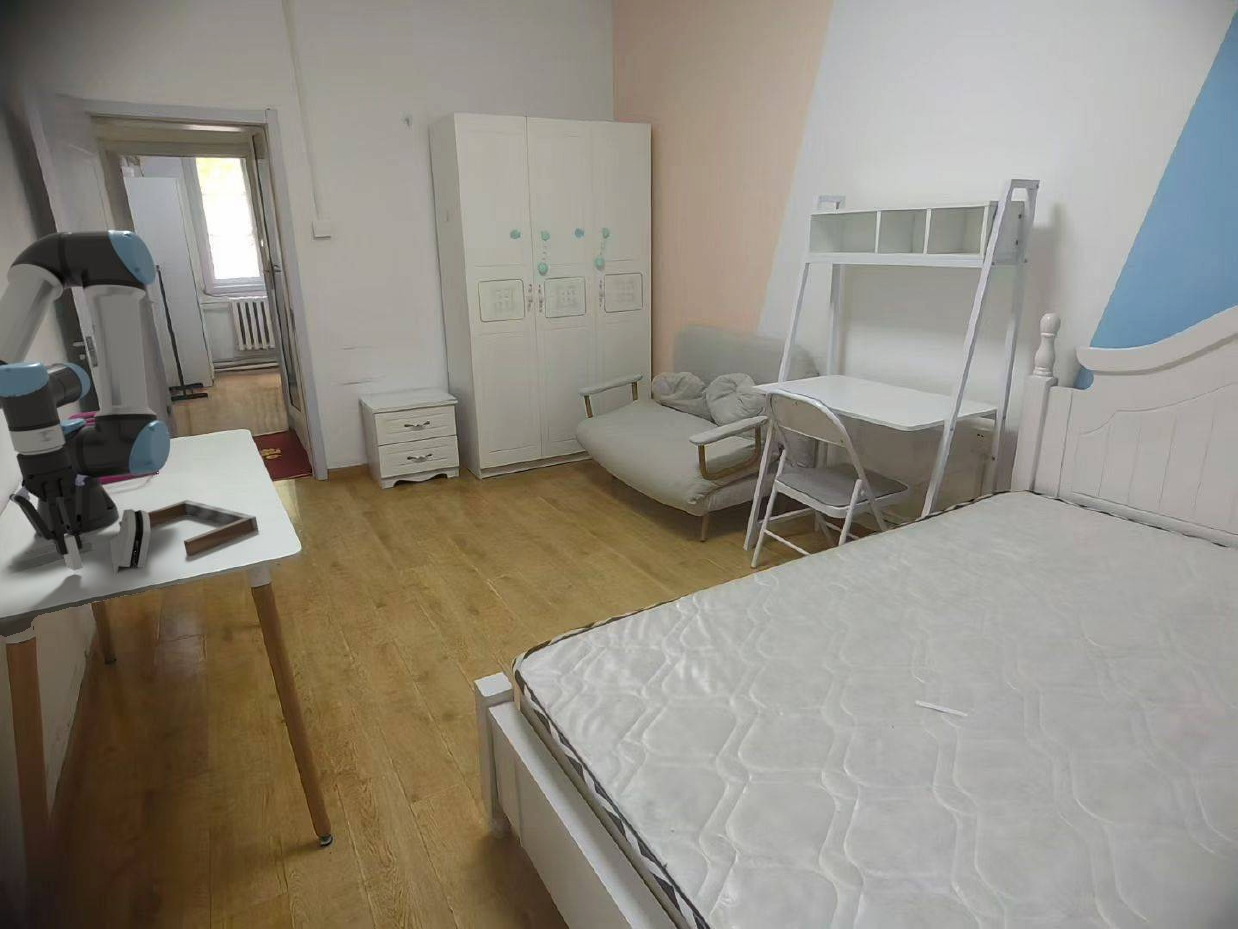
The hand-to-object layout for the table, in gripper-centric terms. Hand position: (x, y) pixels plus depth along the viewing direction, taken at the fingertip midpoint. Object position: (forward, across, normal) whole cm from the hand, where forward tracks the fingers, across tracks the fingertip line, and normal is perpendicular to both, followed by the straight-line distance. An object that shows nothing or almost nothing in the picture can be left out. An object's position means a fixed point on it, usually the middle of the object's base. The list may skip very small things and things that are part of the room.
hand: (75, 567), depth 140 cm
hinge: (+2, +10, -1) cm, 10 cm away
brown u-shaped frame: (+1, +22, 0) cm, 22 cm away
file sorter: (+2, +41, +66) cm, 77 cm away
